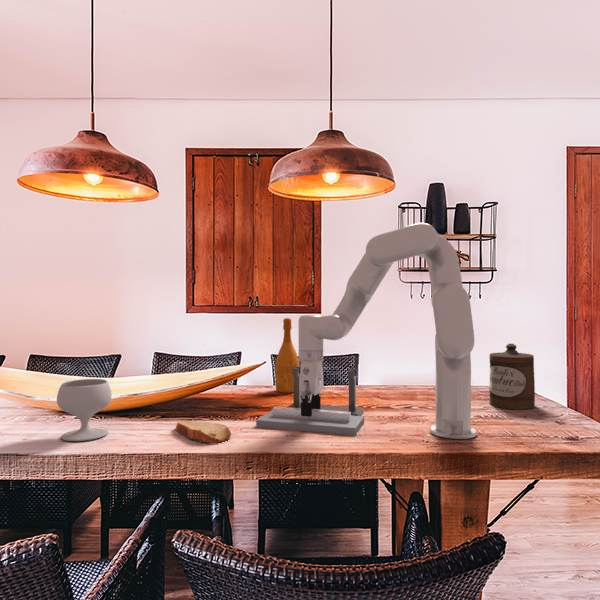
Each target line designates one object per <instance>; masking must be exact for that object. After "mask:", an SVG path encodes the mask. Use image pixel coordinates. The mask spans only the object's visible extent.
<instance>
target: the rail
mask: <svg viewBox="0 0 600 600" xmlns="http://www.w3.org/2000/svg"><path fill="white" fill-rule="evenodd" d="M272 410H273V416H274V417H287V418H300V419H313V420H326V421H339V422H350V421H351V412H346V411H332V410H318V409H312V416H311V417H308V416H301V408H290V407H288V406H274V407H272Z"/></svg>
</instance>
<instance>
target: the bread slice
mask: <svg viewBox="0 0 600 600" xmlns="http://www.w3.org/2000/svg"><path fill="white" fill-rule="evenodd" d="M175 431H176V432H177V433H178V434H180V435H182V436H183V435H184V437H185V438H187V437H188V439H189V438H190V440H192V441H196V442H198V441H201V442H200V443H203V442H204V443H203V444H207V443H222V442H225V441H227V442H229V441H230V438H231V436H232V432H231V430H230V429H229V427H228V426H227V425H225V424H221V423H219V422H218V423H216V422H214V423H213V422H206V421H178V422H177V423H176V426H175ZM228 440H229V441H228ZM225 443H226V442H225ZM222 444H223V443H222Z"/></svg>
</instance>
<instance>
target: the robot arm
mask: <svg viewBox="0 0 600 600" xmlns="http://www.w3.org/2000/svg"><path fill="white" fill-rule="evenodd" d="M414 257H420V258H423V260H425V262H426V265H427V269H428V275H429V278H430V279H429V280H430V281H429V282H430V289H431V299H430V300H431V306H432V310H433V319H434V324H435V337H434V347H435V348H434V349H435V350H434V351H435V353H434V354H435V424H433V425H431V426H430V427H429V432H430V433H431V434H432V435H434V436H436V437H441V438H445V439H452V440H453V439H454V440H467V439H472V438H475V437H476V436H477V429H475V428H474V427H472V426H471V425H472V424H471V423H472V421H471V420H472V419H471V418H472V409H471V408H472V397H471V396H472V393H471V391H472V387H471V386H472V363H471V361H472V360H471V358H472V357H471V352H472V351H473V348H474V346H475V333H474V324H473V321H474V320H473V315H472V307H471V302H470V301H471V300H470V297H469V294H468V292H467V290H466V289H465V288H464V286H463V281H462V273H461V267H460V262H459V257H458V254H457V251H456V250H455V247H454V246H453V245H452V243H451V242H450V241H449V240H447V238H446V237H444V236H443V235H441V234H439V233H438V232H437V230H436V229H435V228H434V226H432V224H429V223H425V222H417V223H413V224H411V225H407V226H404V227H401V228H398V229H395V230H391V231H387V232H384V233H381V234H377V235H375V236H373V237H372V238H371V239H370V240H369V241H367V244H366V246H365V253H364V255H363V256H362V257H361V259H360V261H359V263H358V264H357V266H356V267H355V269H354V270H353V272H352V273H351V275H350V276H349V279H348V280H347V283H346V287H345V291H344V294H343V296H342V298H341V300H340V302H339V303H338V305H337V307H336V308H335V310H334V311H333V313H332V314H331V315H319V314H304V315H300V316H299V318H298V360H299V362H300V367H301V368H300V369H301V370H300V393H301V416H308V417H311V416H312V409H320V408H321V405H322V403H321V399H322V398H321V397H322V396H321V392H323V390H324V371H323V370H324V369H323V362H324V340H329V341H339V340H341V339H343V338H344V337H346V336H347V335H349V333H350V332H351V330H352V329H353V328H354V326H355V324H356V322H357V321H358V320H359V318H360V316H361V315H362V313H363V312H364V311H365V308H366V306H367V305H368V303H369V302H370V301H371V299H372V298H373V296H374V294H375V292H376V291H377V289H378V288H379V286H380V284H381V282H382V281H383V280H384V278H385V276H386V274H387V273H388V272H389V270H390V269H391V268H392V266H393V264H394V263H396V262H400V261H403V260H406V259H409V258H414Z"/></svg>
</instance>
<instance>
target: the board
mask: <svg viewBox="0 0 600 600" xmlns="http://www.w3.org/2000/svg"><path fill="white" fill-rule="evenodd" d="M364 424H365V416H363V415H362V416H352V415H351V421H350V422H339V421H326V420H313V419H300V418H287V417H274V416H273V409H272V410H270V411H268V412H267V413H265V414H264V415H262V416H260V417H259V418H257V419H256V420H255V425H256V428H266V429H276V430H277V429H278V430H287V429H289V431H302V432H312V433H323V434H324V433H325V434H334V435H335V434H336V435H337V434H338V435H346V434H348V436H356V435H357V434H358V433H359V432H360V430H361V429H362V427H363V425H364ZM359 429H360V430H359ZM357 432H358V433H357Z"/></svg>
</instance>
